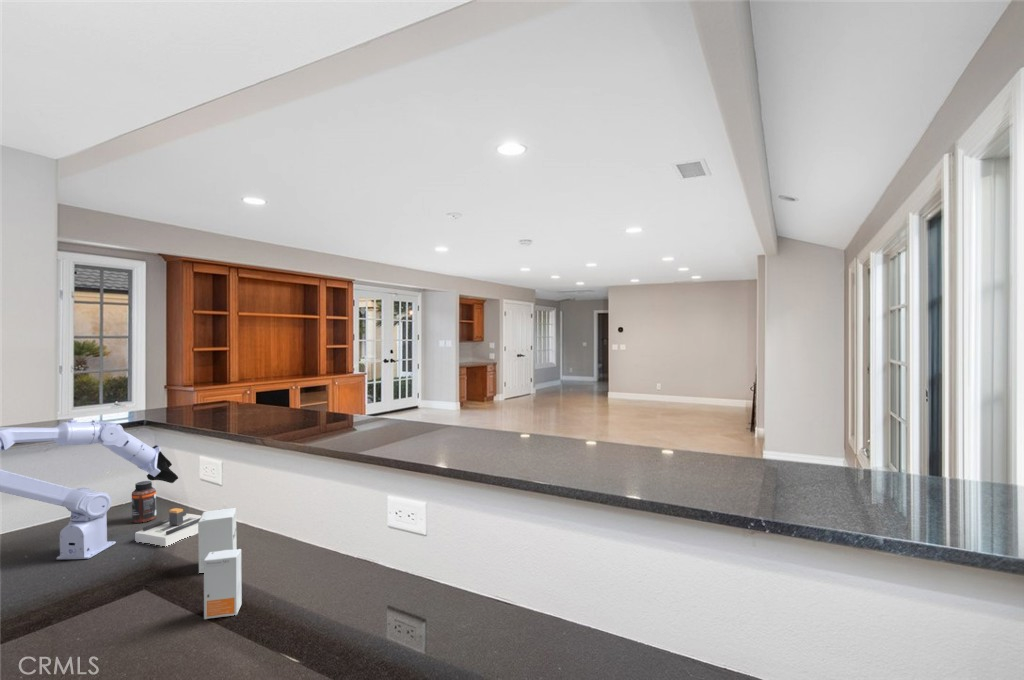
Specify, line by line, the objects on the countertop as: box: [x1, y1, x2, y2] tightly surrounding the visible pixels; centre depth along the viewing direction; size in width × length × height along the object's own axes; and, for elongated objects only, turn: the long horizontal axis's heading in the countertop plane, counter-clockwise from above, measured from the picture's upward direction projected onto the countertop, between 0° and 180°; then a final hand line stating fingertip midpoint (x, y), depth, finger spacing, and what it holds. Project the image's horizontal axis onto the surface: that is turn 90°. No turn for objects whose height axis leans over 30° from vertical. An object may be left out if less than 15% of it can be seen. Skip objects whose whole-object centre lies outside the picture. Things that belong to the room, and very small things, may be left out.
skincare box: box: [203, 548, 243, 620], centre depth 104 cm, size 6×4×12 cm
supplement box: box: [197, 507, 238, 574], centre depth 124 cm, size 7×7×13 cm
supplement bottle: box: [131, 480, 157, 524], centre depth 154 cm, size 6×6×11 cm
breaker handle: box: [168, 507, 184, 526], centre depth 143 cm, size 2×3×4 cm, turn 72°
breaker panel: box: [134, 511, 202, 548], centre depth 143 cm, size 15×11×4 cm
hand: (172, 473), depth 151 cm, fingers open, 7 cm apart
